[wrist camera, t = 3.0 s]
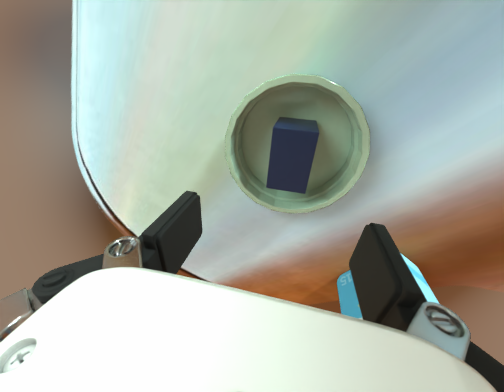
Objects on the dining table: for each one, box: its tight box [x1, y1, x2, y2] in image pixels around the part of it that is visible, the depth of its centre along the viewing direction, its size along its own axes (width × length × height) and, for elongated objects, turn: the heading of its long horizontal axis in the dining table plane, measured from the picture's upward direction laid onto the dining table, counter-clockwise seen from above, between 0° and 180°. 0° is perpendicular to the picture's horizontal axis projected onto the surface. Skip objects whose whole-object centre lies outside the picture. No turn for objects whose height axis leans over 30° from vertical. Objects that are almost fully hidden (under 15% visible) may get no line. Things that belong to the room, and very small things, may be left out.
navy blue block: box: [266, 117, 319, 194], centre depth 24 cm, size 5×7×6 cm, turn 176°
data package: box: [337, 253, 439, 320], centre depth 30 cm, size 12×4×12 cm, turn 144°
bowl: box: [225, 74, 370, 214], centre depth 26 cm, size 16×16×4 cm
